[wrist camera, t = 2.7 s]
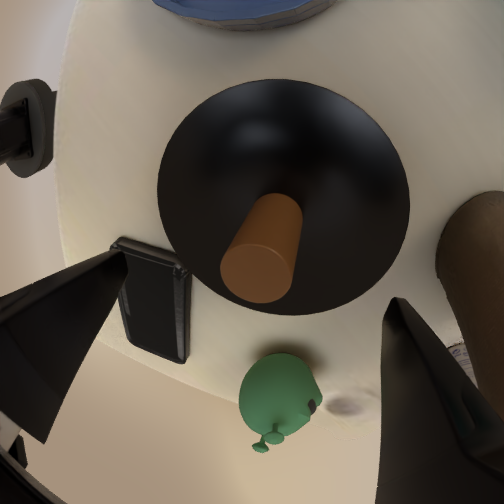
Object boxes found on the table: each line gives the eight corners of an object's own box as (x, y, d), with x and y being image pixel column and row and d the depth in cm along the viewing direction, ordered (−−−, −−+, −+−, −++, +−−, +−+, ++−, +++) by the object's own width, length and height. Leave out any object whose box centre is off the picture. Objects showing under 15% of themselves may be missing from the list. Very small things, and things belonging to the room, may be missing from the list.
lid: (178, 283, 18) (137, 345, 14) (161, 82, 11) (80, 91, 7) (368, 316, 16) (373, 394, 11) (425, 106, 9) (490, 122, 5)
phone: (186, 266, 21) (185, 366, 30) (192, 258, 22) (189, 359, 31) (106, 240, 22) (127, 342, 31) (114, 233, 23) (131, 336, 31)
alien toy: (309, 385, 29) (296, 466, 20) (244, 366, 29) (218, 446, 21) (338, 351, 25) (330, 449, 16) (261, 328, 25) (231, 426, 17)
